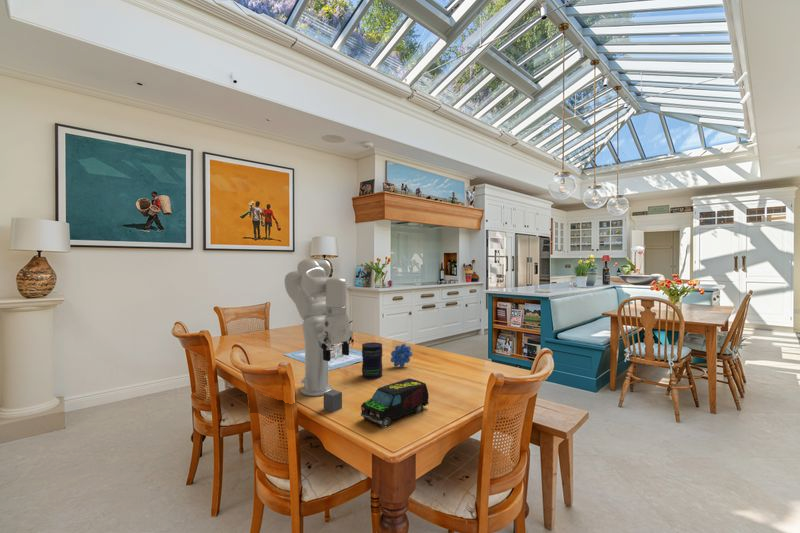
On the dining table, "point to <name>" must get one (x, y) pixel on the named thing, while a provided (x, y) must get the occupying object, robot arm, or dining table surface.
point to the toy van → (395, 401)
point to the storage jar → (372, 360)
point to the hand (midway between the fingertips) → (336, 357)
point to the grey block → (332, 400)
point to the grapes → (401, 355)
